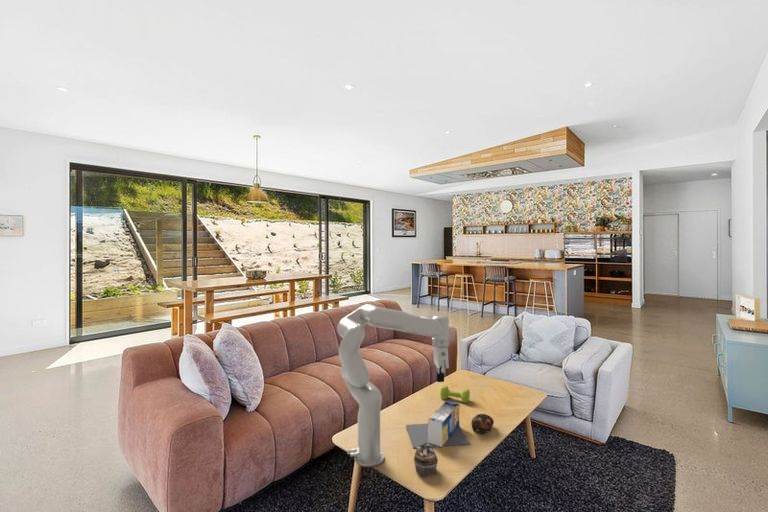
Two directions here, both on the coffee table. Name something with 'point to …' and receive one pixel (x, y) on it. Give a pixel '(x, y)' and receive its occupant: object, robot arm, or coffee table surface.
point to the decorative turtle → (482, 423)
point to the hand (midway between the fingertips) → (440, 381)
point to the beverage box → (443, 423)
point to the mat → (420, 436)
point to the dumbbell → (455, 394)
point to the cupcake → (425, 460)
